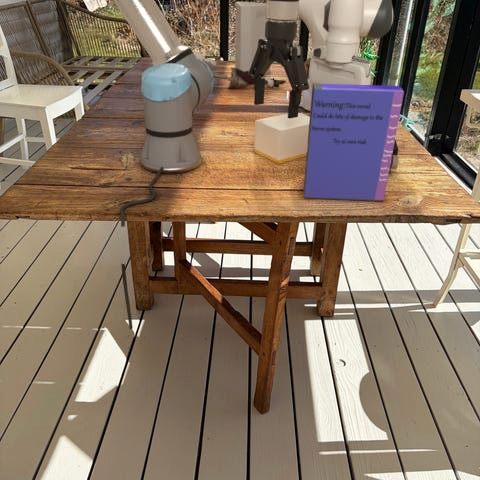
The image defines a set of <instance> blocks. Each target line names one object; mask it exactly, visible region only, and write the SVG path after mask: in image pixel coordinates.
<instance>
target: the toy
mask: <svg viewBox="0 0 480 480" xmlns="http://www.w3.org/2000/svg"><path fill="white" fill-rule="evenodd" d="M193 53H194V55H195V56H196V58H197V59H199V60H201V61H203V62H205V63H207V64H208V63H210V64H211V65H212V66H214V67H217V64H218V63H217V62H216V60H214V59H212V58H210V57H209V58H206V56H205V55H204V54H202V53H200V51H198V50H197V51H195V52H193ZM151 61H152V60H151ZM151 65H152V66H154V63H153V61H152V63H151Z"/></svg>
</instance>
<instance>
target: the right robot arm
mask: <svg viewBox="0 0 480 480" xmlns="http://www.w3.org/2000/svg"><path fill="white" fill-rule="evenodd" d="M298 18H300V19H301V21H303V23H304V24H305V25H306V27H307V29H308V32H309V34H310V37H311V51H310V55H311V56H310V57H311V58H312V59H311V61H310V66H309V79H308V84H309V89H308V90H303V91H302V95H301V103H300V105H299V107H301V108H303V109H304V110H306V111H309V112H310V109H311V98H312V87H313V84H348V85H372V84H371V82H372V80H371V79H372V64H371V62H370V61H369V59H368V58H367V57H360V56H359V53H360V47H361V46H360V44H361V37H363V38H364V37H365V38H368V39H369V38H370V39H377V40H378V39H380V38H382V37H384V36H385V35H387V34H388V33H389V32H390V31H391V28H392V25H393V22H394V8H393V2H392V0H299V9H298ZM286 92H287V93H286V99H289V91H288V90H287V91H286Z"/></svg>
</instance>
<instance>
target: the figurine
mask: <svg viewBox="0 0 480 480" xmlns="http://www.w3.org/2000/svg"><path fill="white" fill-rule="evenodd" d="M230 69H231V72H230V73H231V74H230V76H229V75H225V74H213V78H214V79H215V78H216V79H223V80H227V81H229V84H228V88H229V89H241V88H247V87H249V86H254V78H253V76H252V75H250V74H249V71H245V72H244V71H242V70H240V69H237V68H235V67H232V66H231V67H230ZM264 79H265V87H268V88H271V89H273V88H280V86H281V85H284V84H286V83H287V80H285V79H275V78H274V77H272V78H264Z"/></svg>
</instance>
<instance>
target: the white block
mask: <svg viewBox="0 0 480 480" xmlns="http://www.w3.org/2000/svg"><path fill="white" fill-rule="evenodd" d="M266 3H267V2H265V3H264V2H252V1H235V59H234V60H235V62H234V63H235V65H234V66H235V67H234V68H237V69H240V70H242V71H244V72H245V71H249V70H250V67H251V65H252V62H253V59H254V56H255V54H256V51H257V48H258V41H259V39H265V38H266V37H265V23H266V21H268V19H267V18H266ZM255 69H256V68H255ZM270 73H271V66H270V67H269V69H268V70H267V72H266V73H265V75H266V74H270ZM252 76H253V75H252Z"/></svg>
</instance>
